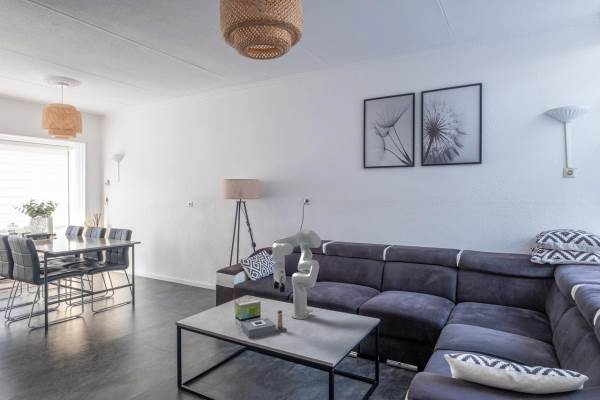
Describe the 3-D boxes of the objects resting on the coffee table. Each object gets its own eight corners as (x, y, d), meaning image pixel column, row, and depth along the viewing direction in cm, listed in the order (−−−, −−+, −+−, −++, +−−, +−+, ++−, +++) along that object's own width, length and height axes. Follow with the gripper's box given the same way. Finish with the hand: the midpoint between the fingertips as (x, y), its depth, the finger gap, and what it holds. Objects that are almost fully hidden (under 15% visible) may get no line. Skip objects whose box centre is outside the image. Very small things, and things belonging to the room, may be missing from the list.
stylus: (281, 328, 234) (281, 309, 234) (283, 329, 232) (282, 311, 231) (277, 329, 233) (276, 310, 233) (279, 330, 230) (278, 312, 230)
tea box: (241, 327, 239) (240, 305, 239) (235, 323, 248) (234, 301, 247) (261, 322, 248) (260, 301, 247) (254, 318, 256) (254, 297, 256)
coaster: (283, 327, 238) (283, 326, 238) (288, 331, 230) (288, 330, 230) (272, 329, 234) (272, 328, 234) (277, 333, 227) (277, 332, 227)
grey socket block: (267, 325, 241) (267, 317, 241) (275, 332, 229) (275, 323, 229) (242, 330, 233) (241, 322, 233) (248, 338, 221) (248, 329, 221)
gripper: (289, 265, 225) (290, 292, 226) (278, 261, 241) (279, 286, 241) (278, 267, 222) (279, 294, 222) (268, 262, 238) (269, 288, 238)
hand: (279, 290), depth 232 cm, fingers open, 9 cm apart
